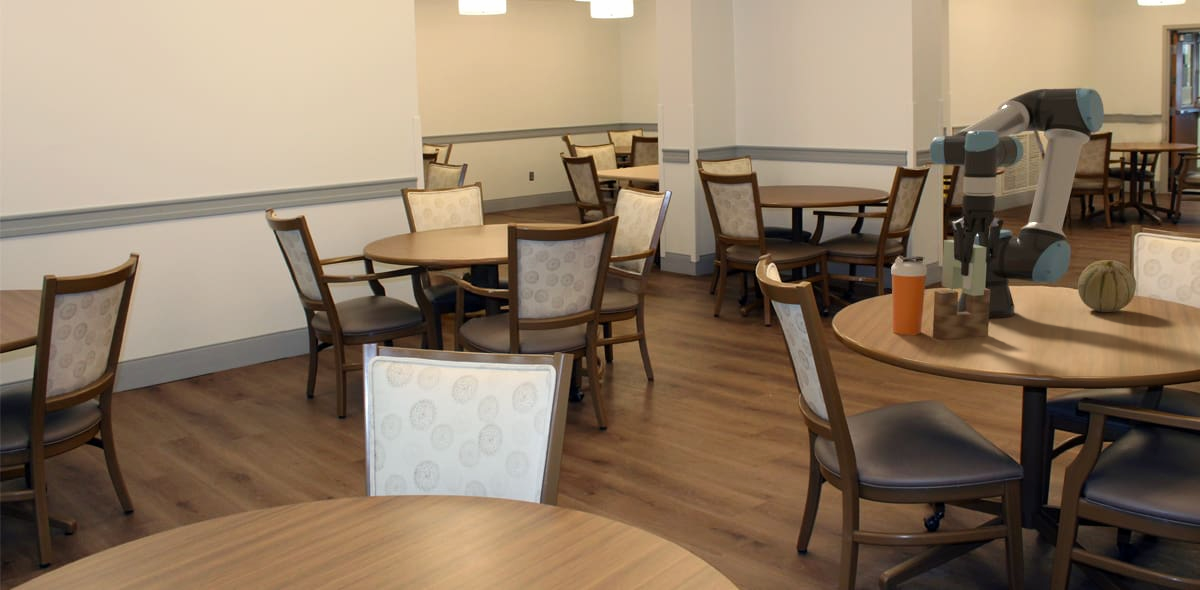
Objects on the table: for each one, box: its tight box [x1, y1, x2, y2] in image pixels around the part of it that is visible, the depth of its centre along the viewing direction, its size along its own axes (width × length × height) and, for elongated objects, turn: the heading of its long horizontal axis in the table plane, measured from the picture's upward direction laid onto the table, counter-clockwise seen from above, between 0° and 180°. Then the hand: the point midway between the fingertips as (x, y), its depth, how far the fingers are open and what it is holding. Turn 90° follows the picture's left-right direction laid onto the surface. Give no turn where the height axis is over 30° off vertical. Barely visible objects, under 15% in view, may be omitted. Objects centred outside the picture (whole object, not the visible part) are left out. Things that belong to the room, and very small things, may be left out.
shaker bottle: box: [890, 255, 928, 336], centre depth 263 cm, size 9×9×20 cm
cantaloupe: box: [1077, 259, 1137, 313], centre depth 281 cm, size 15×15×15 cm
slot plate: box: [941, 239, 986, 296], centre depth 256 cm, size 14×3×12 cm, turn 13°
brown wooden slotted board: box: [932, 288, 990, 341], centre depth 258 cm, size 14×3×12 cm, turn 103°
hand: (973, 287), depth 252 cm, fingers closed on slot plate, 3 cm apart
